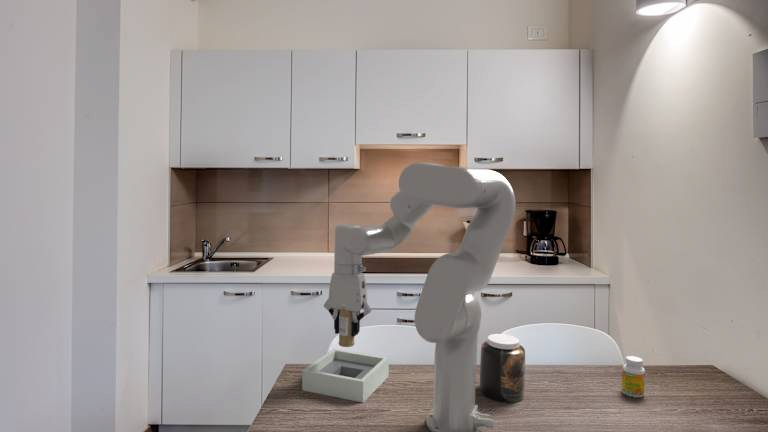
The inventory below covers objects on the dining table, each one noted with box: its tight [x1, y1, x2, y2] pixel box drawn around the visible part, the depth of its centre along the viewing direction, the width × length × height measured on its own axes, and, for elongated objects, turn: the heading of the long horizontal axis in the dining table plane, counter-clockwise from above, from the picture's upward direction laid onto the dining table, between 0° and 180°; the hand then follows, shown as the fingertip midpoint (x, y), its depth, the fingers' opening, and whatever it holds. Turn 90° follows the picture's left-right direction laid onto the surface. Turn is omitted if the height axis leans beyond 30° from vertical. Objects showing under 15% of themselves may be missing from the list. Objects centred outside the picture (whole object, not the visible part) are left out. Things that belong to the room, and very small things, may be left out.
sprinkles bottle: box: [338, 304, 355, 348], centre depth 131 cm, size 5×5×13 cm
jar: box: [479, 333, 526, 404], centre depth 127 cm, size 12×12×15 cm
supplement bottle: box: [621, 355, 646, 398], centre depth 128 cm, size 5×5×10 cm
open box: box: [301, 348, 390, 403], centre depth 132 cm, size 18×18×6 cm
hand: (346, 333), depth 131 cm, fingers closed on sprinkles bottle, 4 cm apart
